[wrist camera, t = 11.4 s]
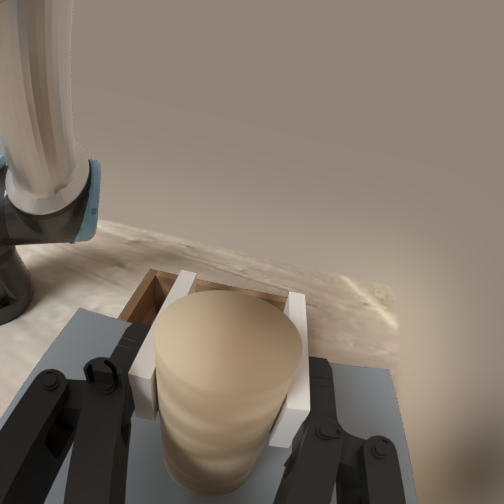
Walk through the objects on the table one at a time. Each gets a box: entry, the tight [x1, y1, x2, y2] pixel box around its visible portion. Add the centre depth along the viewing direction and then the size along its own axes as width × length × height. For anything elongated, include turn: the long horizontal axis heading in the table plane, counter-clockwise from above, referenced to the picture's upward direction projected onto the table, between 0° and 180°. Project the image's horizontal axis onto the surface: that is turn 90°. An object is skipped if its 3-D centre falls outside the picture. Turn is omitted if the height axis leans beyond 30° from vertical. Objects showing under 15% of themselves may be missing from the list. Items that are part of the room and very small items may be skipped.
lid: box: [0, 290, 418, 504], centre depth 12 cm, size 23×17×10 cm
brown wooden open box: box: [117, 269, 288, 325], centre depth 40 cm, size 22×16×8 cm
